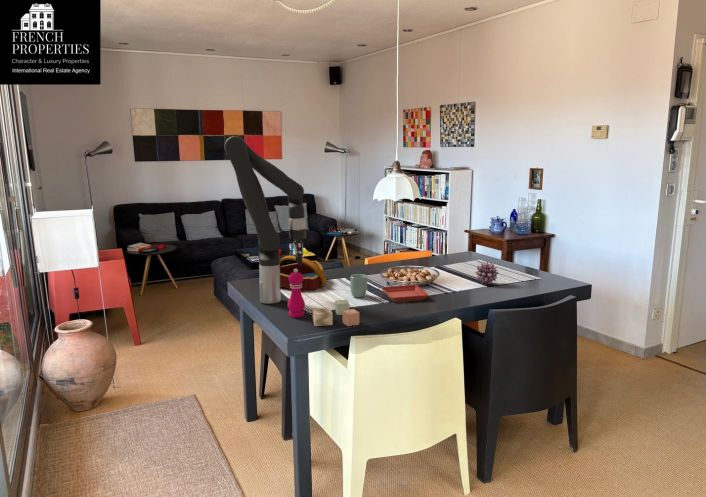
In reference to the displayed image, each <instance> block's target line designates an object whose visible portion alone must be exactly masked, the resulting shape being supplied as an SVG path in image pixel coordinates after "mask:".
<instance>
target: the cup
mask: <svg viewBox="0 0 706 497" xmlns="http://www.w3.org/2000/svg"><path fill="white" fill-rule="evenodd" d="M349 285H350V287H349V288H350V293H351V295H352V296H353V297H354V298H356V299H357V298H364V297H365V296H366V294H367V289H368V275H366V274H364V273H363V274H362V273H354V274H351V275H350V284H349Z"/></svg>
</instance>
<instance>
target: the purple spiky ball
mask: <svg viewBox="0 0 706 497" xmlns="http://www.w3.org/2000/svg"><path fill="white" fill-rule="evenodd" d="M476 270H477V271H474V274H476V281H479V283H481V284H482V285H483V284H484V283H485V285H491V284H493V281H494V282H497V279H498V274H500V273H499V271H498V269H497V266H495V264H494V263H492V262H490V263H489V262H488V261H486V263H485V261H483V262H481V263H480V265H477V267H476Z"/></svg>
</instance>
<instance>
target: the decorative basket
mask: <svg viewBox="0 0 706 497" xmlns="http://www.w3.org/2000/svg"><path fill="white" fill-rule="evenodd" d="M283 261H295V263H290V264H286V265H285V264H284V265H281V264H282V262H283ZM294 269H298V272H299V273H301V274H302V275H303V281H302V287H301V291H305V292H307V291H309V292H310V291H311V292H314V291H316V290H318V289H320V288H322V287H324V286H326V285H327V283H328V281H327V278H326V275H325V273H324V268H323V266H322V264H321V263H320V262H318V260H310V259H308V258H306V257H305V258H304V257H303V256H302V265H298V264H297V261H296V257H295V255H286V256H283V257H282V258H281V257H280V288H286V289H288V290H289V289H290V290H291V288H290V284H291V283H290V282H289V275H290V274H291V273H293V272H294Z"/></svg>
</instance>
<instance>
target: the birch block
mask: <svg viewBox="0 0 706 497" xmlns="http://www.w3.org/2000/svg"><path fill="white" fill-rule="evenodd" d="M333 319H334V318H333V311H332V309H331V308H330V307H326V308H325V307H323V308H313V309H312V322H313V325H314V327H321V326H322V327H323V326H333Z"/></svg>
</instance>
